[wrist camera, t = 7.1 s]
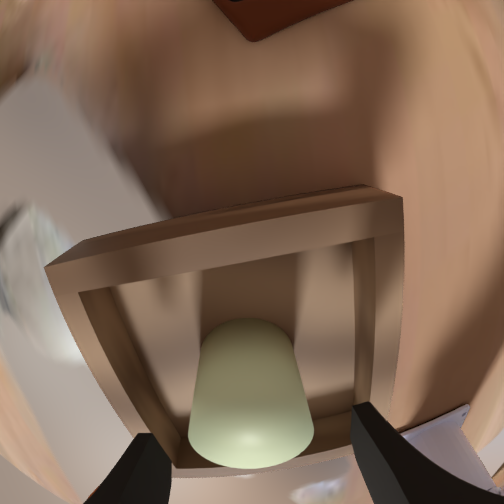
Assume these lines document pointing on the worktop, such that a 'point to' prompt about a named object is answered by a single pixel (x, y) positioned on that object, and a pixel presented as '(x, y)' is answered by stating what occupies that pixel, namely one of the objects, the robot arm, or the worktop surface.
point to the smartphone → (271, 14)
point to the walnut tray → (242, 309)
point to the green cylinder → (249, 397)
